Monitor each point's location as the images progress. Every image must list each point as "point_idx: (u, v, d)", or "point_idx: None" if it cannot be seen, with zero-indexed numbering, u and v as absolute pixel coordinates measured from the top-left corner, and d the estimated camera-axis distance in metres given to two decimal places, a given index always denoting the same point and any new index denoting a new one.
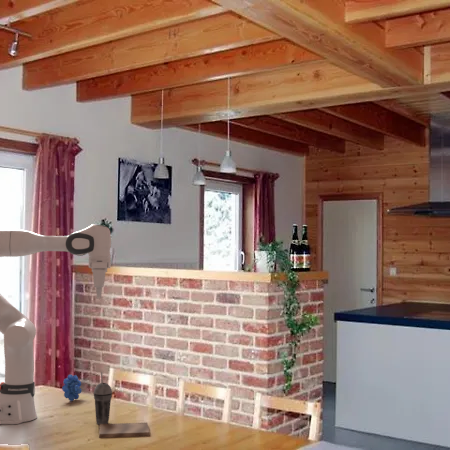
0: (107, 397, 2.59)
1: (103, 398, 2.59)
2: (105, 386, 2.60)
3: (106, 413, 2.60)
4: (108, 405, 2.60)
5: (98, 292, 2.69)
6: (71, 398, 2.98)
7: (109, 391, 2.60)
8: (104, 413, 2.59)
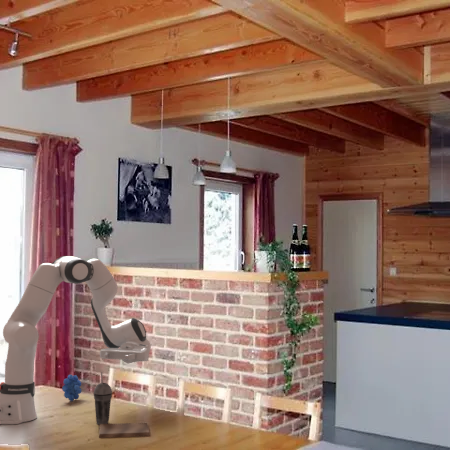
0: (107, 397, 2.59)
1: (103, 398, 2.59)
2: (105, 386, 2.60)
3: (106, 413, 2.60)
4: (108, 405, 2.60)
5: (132, 356, 2.75)
6: (71, 398, 2.98)
7: (109, 391, 2.60)
8: (104, 413, 2.59)
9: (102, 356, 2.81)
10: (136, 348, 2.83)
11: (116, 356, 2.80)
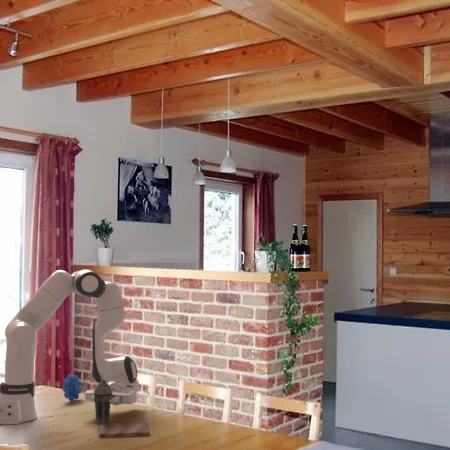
0: (107, 397, 2.59)
1: (103, 398, 2.59)
2: (105, 386, 2.60)
3: (106, 413, 2.60)
4: (108, 405, 2.60)
5: (116, 399, 2.62)
6: (71, 398, 2.98)
7: (109, 391, 2.60)
8: (104, 413, 2.59)
9: (87, 398, 2.68)
10: (123, 390, 2.70)
11: None
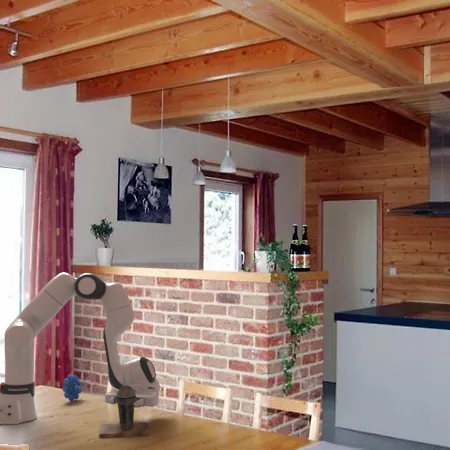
0: (131, 400, 2.48)
1: (127, 402, 2.47)
2: (128, 389, 2.49)
3: (130, 417, 2.48)
4: (132, 408, 2.49)
5: (140, 402, 2.50)
6: (71, 398, 2.98)
7: (132, 394, 2.49)
8: (128, 417, 2.48)
9: (107, 401, 2.56)
10: (145, 392, 2.59)
11: None
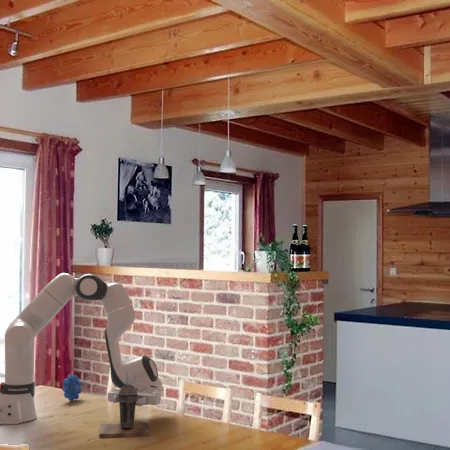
0: (132, 398, 2.49)
1: (129, 399, 2.49)
2: (130, 387, 2.51)
3: (131, 415, 2.49)
4: (133, 407, 2.50)
5: (143, 400, 2.53)
6: (71, 398, 2.98)
7: (134, 392, 2.51)
8: (129, 416, 2.48)
9: (110, 399, 2.58)
10: (147, 390, 2.61)
11: None
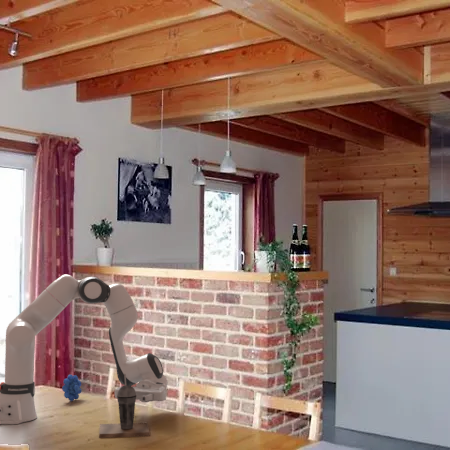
0: (131, 399, 2.48)
1: (127, 401, 2.48)
2: (129, 388, 2.49)
3: (131, 416, 2.48)
4: (132, 408, 2.49)
5: (149, 397, 2.59)
6: (71, 398, 2.98)
7: (133, 393, 2.49)
8: (129, 417, 2.48)
9: None
10: (153, 387, 2.67)
11: None
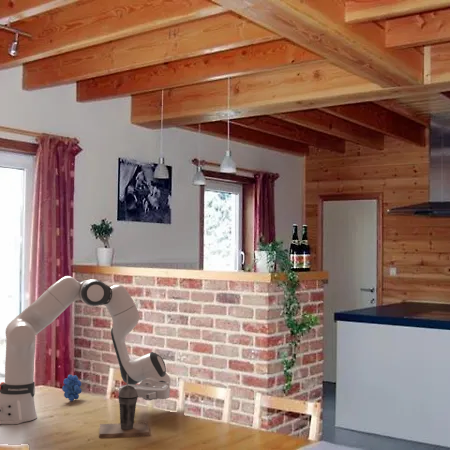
0: (133, 400, 2.48)
1: (129, 402, 2.47)
2: (131, 389, 2.49)
3: (131, 417, 2.48)
4: (133, 409, 2.49)
5: (153, 395, 2.63)
6: (71, 398, 2.98)
7: (135, 394, 2.49)
8: (129, 418, 2.48)
9: None
10: (156, 385, 2.71)
11: None
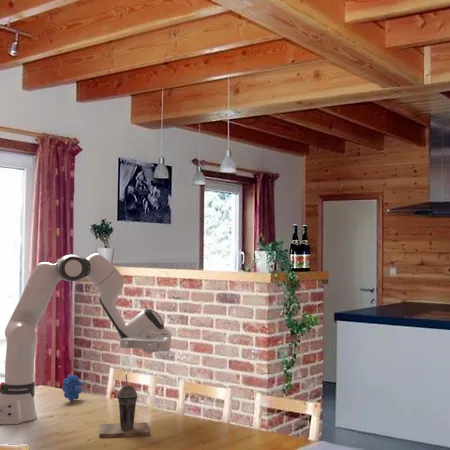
0: (132, 401, 2.48)
1: (128, 402, 2.47)
2: (130, 389, 2.49)
3: (131, 417, 2.48)
4: (133, 409, 2.49)
5: (154, 345, 2.64)
6: (71, 398, 2.98)
7: (134, 394, 2.49)
8: (129, 418, 2.48)
9: (122, 345, 2.70)
10: (157, 337, 2.72)
11: (137, 345, 2.69)
